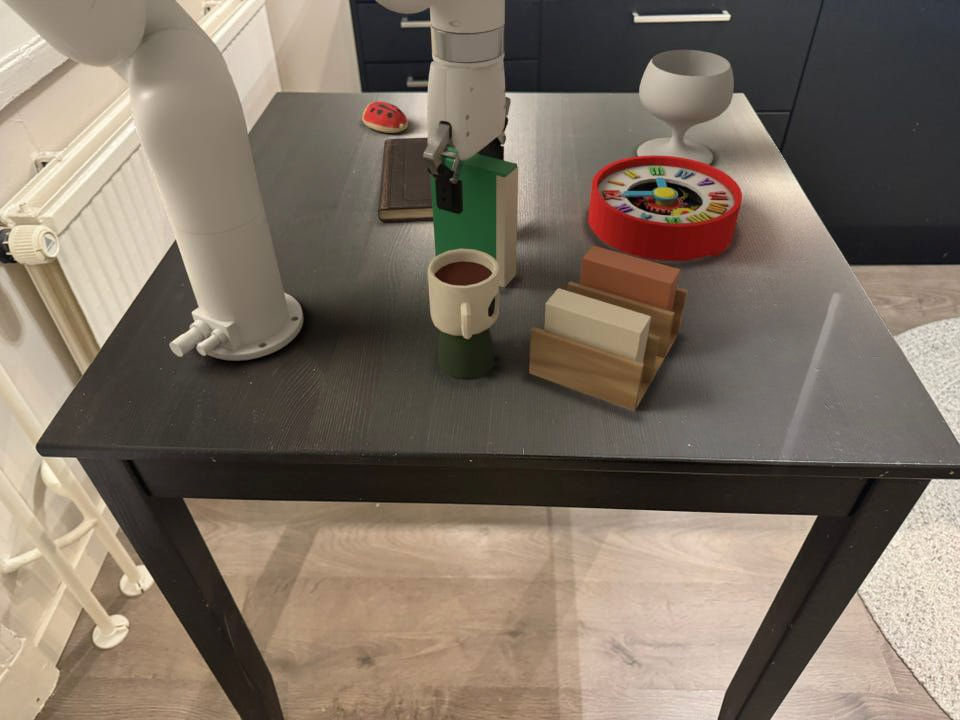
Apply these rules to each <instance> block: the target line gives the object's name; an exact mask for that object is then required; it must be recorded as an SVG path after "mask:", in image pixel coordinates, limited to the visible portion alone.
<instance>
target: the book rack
mask: <svg viewBox="0 0 960 720" xmlns="http://www.w3.org/2000/svg"><path fill="white" fill-rule="evenodd" d="M566 291H569V292H573V293H576V294H579V295H582V296H586V297H589V298H592V299H596V300H599V301H602V302H605V303H609V304H612V305H615V306H619V307H622V308H625V309H628V310H632V311H635V312H638V313H642V314H645V315H648V316H651V321H650V326H649V332H648V338H647V343H646V349H645V354H644V360H643V363H641V362H638V361H635V360H632V359H629V358H626V357H623V356H620V355H617V354H614V353H611V352H608V351H605V350H602V349H599V348H596V347H593V346H590V345H587V344H584V343H581V342H578V341H575V340H572V339H569V338H566V337H563V336H560V335H557V334H554V333H551V332H548V331H545V330H544V329H541V328H538V327H535V326H532V327H531V328H530V344H529V364H528V365H529V367H528V371H529V372H528V374H529V375H532V376H535V377H537V378H541V379H544V380H546V381H549V382H552V383H554V384H557V385H560V386H563V387H566V388H569V389H571V390H573V391H577V392H580V393H582V394H585V395H588V396H591V397H593V398H597V399H599V400H602V401H605V402H608V403H610V404H613V405H616V406H619V407H621V408H625V409H627V410H630V411H632V412H635V411H636V410H637V409H638V406H639V404H640V403H641V401H642V400H643V397H644V396H645V394H646V392H647V391H648V388H649V387H650V385H651V383H652V382H653V380H654V378H655V376H656V374H657V373H658V371H659V369H660V367H661V365H662V364H663V362H664V360H665V358H666V356H667V355H668V353H669V351H670V350H671V348H672V346H673V345H674V343H675V341H676V339H677V337H678V335H679V333H680V329H681V324H682V320H683V316H684V311H685V306H686V301H687V297H688V293H689V292H688V291H689V289H687V288H683V287H679V286H677V290H676V295H675V300H674V305H673V310H672V312H671V311H668V310H665V309H661V308H658V307H654V306H651V305H648V304H644V303H641V302H638V301H634V300H631V299H628V298H624V297H621V296H618V295H614V294H611V293H608V292H604V291H601V290H597V289H594V288H591V287H587V286H584V285H581V284H580V283H577V282H573V281H569V282H568V283H567V290H566Z"/></svg>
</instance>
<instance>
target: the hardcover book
mask: <svg viewBox="0 0 960 720" xmlns="http://www.w3.org/2000/svg"><path fill="white" fill-rule="evenodd" d="M427 146H428V137H408V138H407V137H405V138H404V137H403V138H387V139H386V140H385V141H384V144H383V154H382V164H381V166H382V167H381V174H380V184H379V185H380V186H379V197H378V208H377V209H378V210H377V216H378V220H379V221H380V222H381V223H400V222H401V223H402V222H422V221H423V222H425V221H433V207H432V192H431V176H430V173H429V172H428V167H427V165H426V162H425V160H424V158H423V154H424V151H425V150H426V148H427ZM449 148H453V147H450V146H449ZM454 149H455V148H454ZM476 154H479V152H477V153H476Z"/></svg>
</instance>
